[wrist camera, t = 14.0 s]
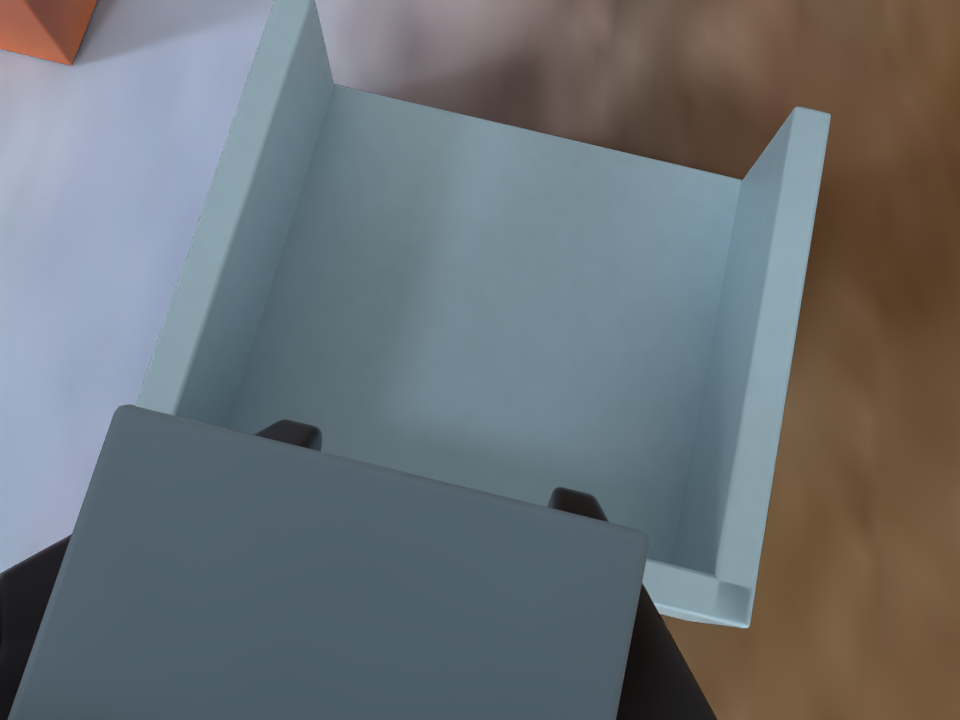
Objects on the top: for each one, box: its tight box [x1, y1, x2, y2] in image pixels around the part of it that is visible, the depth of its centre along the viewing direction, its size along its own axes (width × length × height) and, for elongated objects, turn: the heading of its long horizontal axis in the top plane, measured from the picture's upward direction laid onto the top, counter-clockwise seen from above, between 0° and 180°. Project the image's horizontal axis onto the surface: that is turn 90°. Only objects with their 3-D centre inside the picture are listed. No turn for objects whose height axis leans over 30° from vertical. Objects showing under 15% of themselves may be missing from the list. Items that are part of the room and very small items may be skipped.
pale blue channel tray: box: [8, 0, 831, 720], centre depth 11 cm, size 10×9×12 cm
